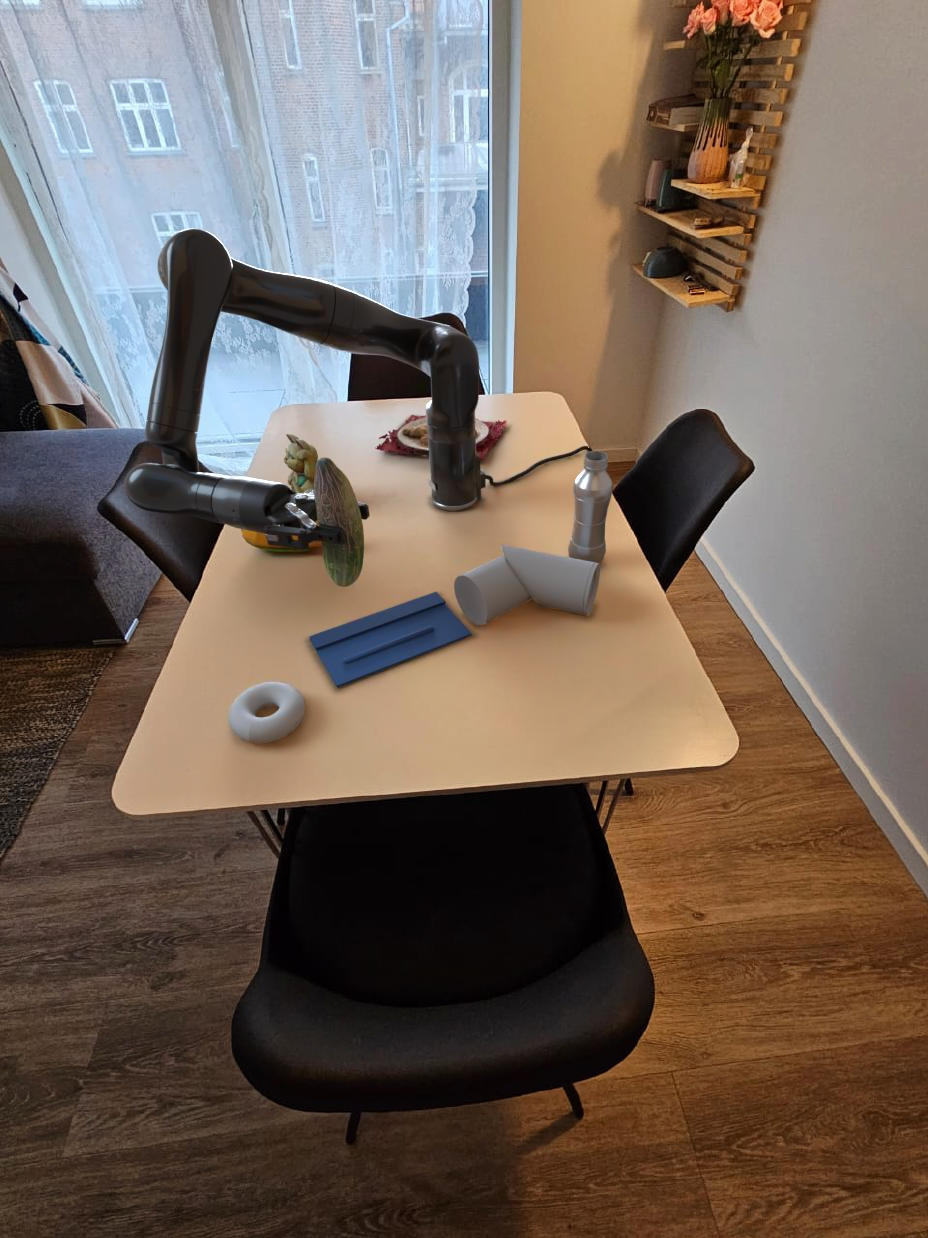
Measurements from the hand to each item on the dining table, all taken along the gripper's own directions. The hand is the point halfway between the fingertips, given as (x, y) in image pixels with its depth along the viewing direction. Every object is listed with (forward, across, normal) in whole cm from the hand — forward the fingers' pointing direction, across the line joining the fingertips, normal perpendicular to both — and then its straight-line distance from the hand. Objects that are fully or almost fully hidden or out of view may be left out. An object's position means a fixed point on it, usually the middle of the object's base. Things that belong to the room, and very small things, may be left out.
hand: (356, 523), depth 89 cm
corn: (-24, +18, +20) cm, 36 cm away
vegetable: (-2, 0, +11) cm, 11 cm away
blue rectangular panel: (+3, 0, +20) cm, 20 cm away
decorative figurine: (-30, +33, +20) cm, 49 cm away
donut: (-5, -21, +20) cm, 29 cm away
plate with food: (-17, +70, +20) cm, 75 cm away
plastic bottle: (+27, +29, +20) cm, 44 cm away
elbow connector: (+22, +14, +20) cm, 33 cm away
